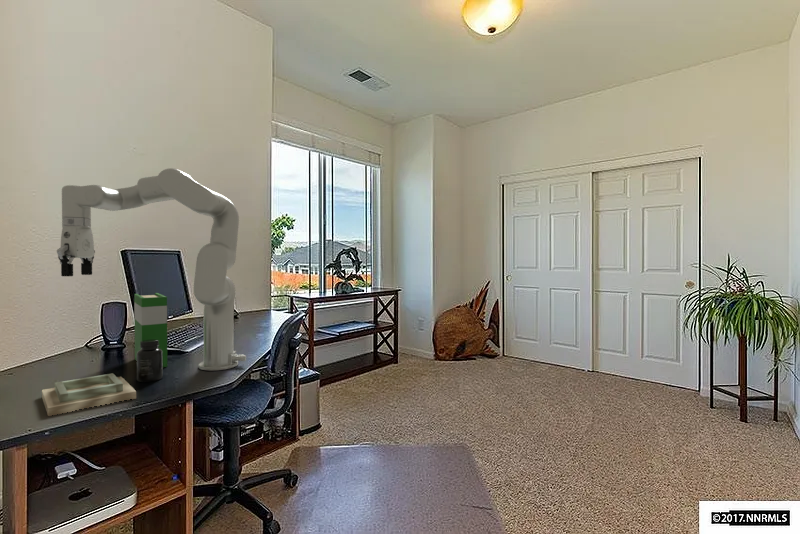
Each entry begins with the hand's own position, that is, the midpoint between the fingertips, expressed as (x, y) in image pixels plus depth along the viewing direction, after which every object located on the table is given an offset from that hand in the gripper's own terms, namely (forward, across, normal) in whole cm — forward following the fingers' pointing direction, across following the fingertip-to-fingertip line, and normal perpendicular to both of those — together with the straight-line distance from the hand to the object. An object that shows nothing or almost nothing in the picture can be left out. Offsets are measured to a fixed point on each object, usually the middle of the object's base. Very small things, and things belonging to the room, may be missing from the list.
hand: (77, 275), depth 138 cm
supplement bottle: (+31, -14, -29) cm, 45 cm away
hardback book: (+31, +6, -20) cm, 38 cm away
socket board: (+31, -30, -21) cm, 48 cm away
